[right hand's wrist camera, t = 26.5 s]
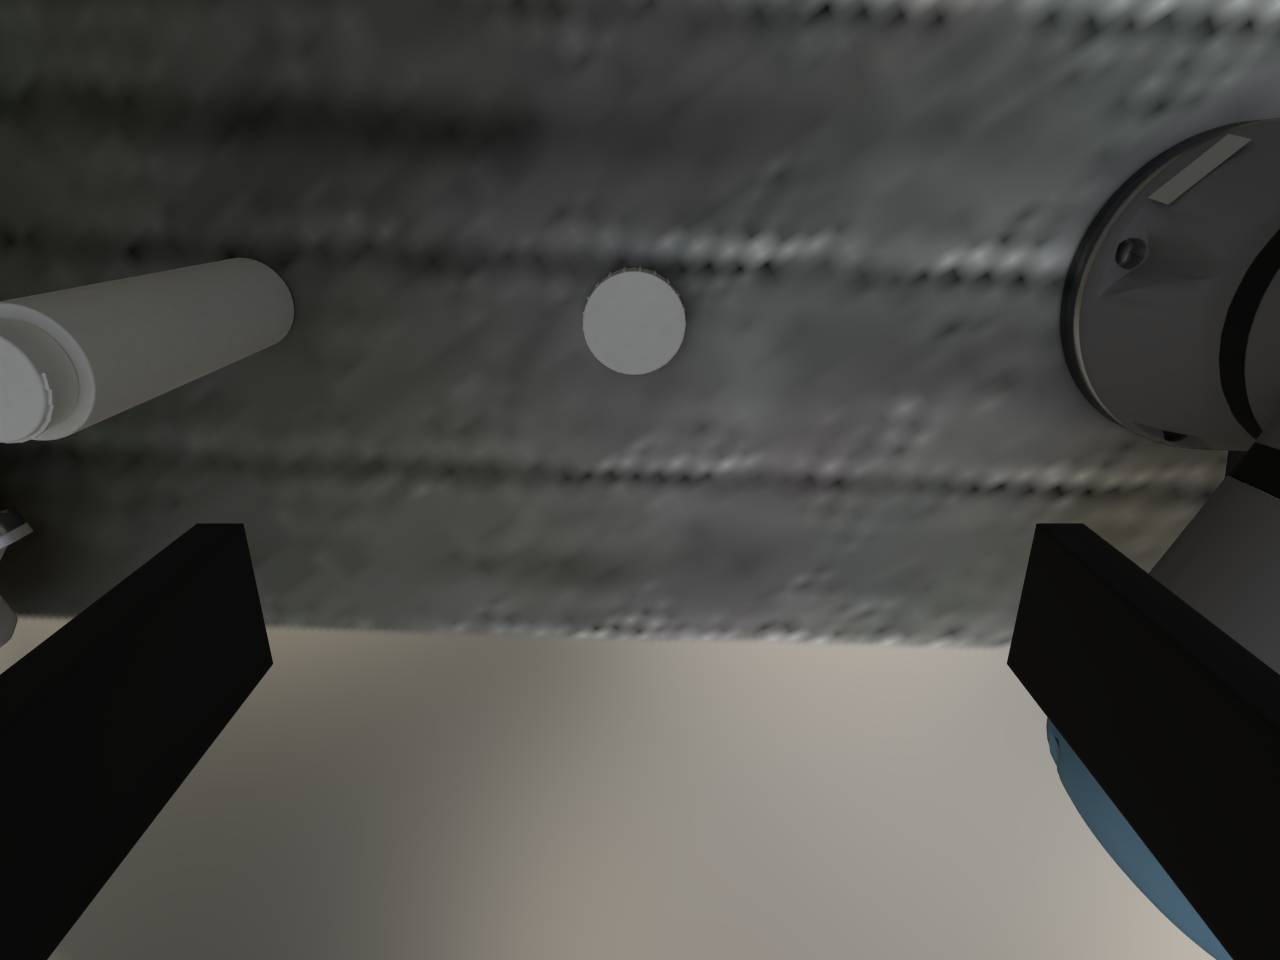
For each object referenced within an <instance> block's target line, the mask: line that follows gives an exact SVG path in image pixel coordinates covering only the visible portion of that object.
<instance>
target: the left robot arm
mask: <svg viewBox="0 0 1280 960" xmlns="http://www.w3.org/2000/svg"><path fill="white" fill-rule="evenodd" d="M31 532H33V530H32V528H31V527H30V526H29V525H28V523H27V522H26V520H25V519H24V518H23V517H22V515H21V514H20V513H19V512H18V510H17V509H16V508H15V507H14V505H12V506H9V507H7V508H4V509H2V510H0V560H1V558H2V556H3V554H4V552H5V550H6V548H7V546H8V545H10V544H12V543H14V542H16V541H17V540H19V539H21V538H23V537H24V536H26V535H28V534H30V533H31ZM16 624H17V616H16V614H15V612H14V611H13V610H12V608H11V607H10V606H9V605H8V603H7V602H6V601H5V600H4V599H3V597H2V596H1V595H0V647H2V646H3V645H4V644H6V643H7V642H8V641H9V640H10V639H11V637H12V635H13V633H14V630H15V627H16Z"/></svg>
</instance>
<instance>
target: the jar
mask: <svg viewBox="0 0 1280 960" xmlns="http://www.w3.org/2000/svg"><path fill="white" fill-rule="evenodd" d="M293 319H294V304H293V299H292V296H291V293H290V291H289V289H288V287H287V285H286V284H285V282H284V281H283V280H282V278H281V277H280V276H279V275H278V274H277V273H276V272H275V271H274V270H272V269H271V268H269V267H268V266H267V265H265V264H263V263H261V262H258V261H256V260H252V259H248V258H233V259H227V260H222V261H216V262H211V263H205V264H200V265H195V266H189V267H184V268H178V269H173V270H167V271H162V272H157V273H151V274H146V275H140V276H135V277H130V278H124V279H119V280H113V281H108V282H102V283H97V284H92V285H86V286H81V287H75V288H70V289H65V290H59V291H54V292H48V293H43V294H37V295H32V296H27V297H21V298H16V299H10V300H5V301H0V443H19V442H21V443H23V442H25V441H28V440H31V439H32V440H55V439H60V438H64V437H66V436H69V435H71V434H73V433H75V432H78V431H80V430H82V429H84V428H87V427H89V426H91V425H93V424H96V423H98V422H100V421H103V420H105V419H107V418H109V417H112V416H114V415H116V414H118V413H121V412H123V411H125V410H127V409H130V408H132V407H134V406H137V405H139V404H141V403H143V402H146V401H148V400H150V399H152V398H155V397H157V396H159V395H161V394H164V393H166V392H168V391H170V390H173V389H175V388H177V387H180V386H182V385H184V384H186V383H189V382H191V381H193V380H195V379H198V378H200V377H202V376H204V375H207V374H209V373H211V372H214V371H216V370H218V369H220V368H223V367H225V366H227V365H229V364H232V363H234V362H236V361H238V360H241V359H243V358H245V357H248V356H250V355H252V354H254V353H257V352H259V351H261V350H263V349H266V348H268V347H270V346H272V345H275V344H277V343H278V342H280V341H281V340H282V339H283V338H284V337H285V336H286V335H287V334H288V332H289V330H290V328H291V326H292V323H293Z"/></svg>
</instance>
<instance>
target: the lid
mask: <svg viewBox="0 0 1280 960" xmlns="http://www.w3.org/2000/svg"><path fill="white" fill-rule="evenodd" d="M679 295H680V294H679V291H678V290H677V291H676V290H675V288H674V287H673V286H672V285H671V283H670V281H669V279H668V278H667V279H665V278H664V277H663V276H661V275H660V274H658V273H656V270H654V271H651V270H648V269H644V268H641V266H639V268H626V267H623V269H621V270H618V271H615V272H613V273H611V272H609V274H608V276H606V277H605V278H604V279H602V280H601V281H600V282H599V281H598V282H597V284H596V287H595V288H594V290H593V291H592V293H591V294H589V295H588V297H587V299H588V301H587V304H586V307H585V308H584V310H583V313H582V314H584V315H583V327H582V330H583V331H584V336H585V339H586V342H587V345H588V346H589V348H590V350H591V352H592V353H593V354H594V356H595V357H596V358H597V359H598V360H599V361H600V362H601V363H602V364H604V365H605V366H607V367H608V368H610V369H612V370H614V371H616V372H620V373H623V374H629V375H639V374H645V373H649V372H652V371H655V370H657V369H659V368H661V367H662V366H664V365H665V364H666V363H668V362H669V361H670V360H671V359H672V358H673V357H674V355H675V354H676V353H677V351H678V350H679V348H680V346H681V344H682V341H683V340H684V334H685V328H686V326H687V323H686V319H685V312H684V310H686V309H685V306H684V304H682V302H681V299H680V297H679Z"/></svg>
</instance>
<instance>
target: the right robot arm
mask: <svg viewBox="0 0 1280 960" xmlns="http://www.w3.org/2000/svg"><path fill="white" fill-rule="evenodd" d="M1060 324H1061V339H1062V347H1063V351H1064V355H1065V359H1066V363H1067V365H1068V368H1069V371H1070V373H1071V375H1072V377H1073V379H1074V381H1075V383H1076V385H1077V387H1078V388H1079V390H1080V391H1081V393H1082V394H1083V395H1084V397H1085V398H1086V399H1087V400H1088V401H1089V402H1090V404H1091V405H1092V406H1093V407H1094V408H1096V409H1097V410H1098V411H1099V412H1100V413H1101V414H1102V415H1104V416H1105V417H1107V418H1108V419H1110V420H1111V421H1113V422H1114V423H1116V424H1118V425H1120V426H1122V427H1124V428H1126V429H1128V430H1130V431H1132V432H1134V433H1136V434H1138V435H1140V436H1142V437H1144V438H1147V439H1149V440H1152V441H1154V442H1158V443H1162V444H1165V445H1170V446H1176V447H1183V448H1191V449H1213V450H1229V451H1228V458H1227V466H1226V473H1225V479H1224V480H1223V481H1222V483H1221V484H1220V485H1219V487H1218V488H1217V489H1216V491H1215V492H1214V493H1213V494H1212V496H1211V497H1210V498H1209V500H1208V501H1207V502H1206V503H1205V505H1204V506H1203V507H1202V508H1201V509H1200V511H1199V512H1198V513H1197V514H1196V516H1195V517H1194V518H1193V519H1192V521H1191V522H1190V523H1189V524H1188V526H1187V527H1186V528H1185V529H1184V530H1183V532H1182V533H1181V534H1180V535H1179V537H1178V538H1177V539H1176V540H1175V542H1174V543H1173V544H1172V545H1171V546H1170V548H1169V549H1168V550H1167V551H1166V553H1165V554H1164V555H1163V556H1162V558H1161V559H1160V560H1159V561H1158V563H1157V564H1156V565H1155V566H1154V567H1153V569H1152V570H1151V571H1150V572H1149V574H1148V573H1147V572H1145V571H1144V570H1143V569H1141V568H1140V567H1139V566H1137V565H1136V564H1135V563H1134V562H1132V561H1131V560H1130V559H1128V558H1127V557H1126V556H1124V555H1123V554H1122V553H1121V552H1119V551H1118V550H1117V549H1115V548H1114V547H1113V546H1111V545H1110V544H1109V543H1108V542H1106V541H1105V540H1104V539H1102V538H1101V537H1100V536H1098V535H1097V534H1096V533H1095V532H1093V531H1092V530H1091V529H1089V528H1088V527H1087V526H1085V525H1084V524H1036V529H1035V534H1034V538H1033V543H1032V548H1031V552H1030V557H1029V562H1028V567H1027V571H1026V576H1025V581H1024V585H1023V590H1022V595H1021V600H1020V604H1019V609H1018V614H1017V618H1016V623H1015V628H1014V633H1013V637H1012V642H1011V647H1010V651H1009V656H1008V661H1007V665H1008V666H1009V667H1010V668H1011V670H1012V671H1013V672H1014V674H1015V675H1016V676H1017V678H1018V679H1019V680H1020V682H1021V683H1022V684H1023V685H1024V687H1025V688H1026V689H1027V691H1028V692H1029V693H1030V695H1031V696H1032V697H1033V699H1034V700H1035V701H1036V702H1037V704H1038V705H1039V706H1040V708H1041V709H1042V710H1043V712H1044V713H1045V714H1046V716H1047V739H1048V742H1049V746H1050V753H1051V755H1052V757H1053V759H1054V761H1055V763H1056V765H1057V771H1058V774H1059V776H1060V780H1061V782H1062V784H1063V786H1064V787H1065V789H1066V791H1067V793H1068V795H1069V797H1070V798H1071V800H1072V802H1073V804H1074V805H1075V807H1076V809H1077V810H1078V812H1079V813H1080V815H1081V817H1082V818H1083V819H1084V821H1085V823H1086V824H1087V825H1088V827H1089V828H1090V830H1091V831H1092V833H1093V834H1094V835H1095V837H1096V838H1097V839H1098V841H1099V842H1100V843H1101V845H1102V846H1103V847H1104V849H1105V850H1106V851H1107V852H1108V853H1109V855H1110V856H1111V857H1112V858H1113V860H1114V861H1115V862H1116V863H1117V865H1118V866H1119V867H1120V868H1121V869H1122V870H1123V872H1124V873H1125V874H1126V875H1127V876H1128V877H1129V878H1130V879H1131V881H1132V882H1133V883H1134V884H1135V885H1136V886H1137V887H1138V888H1139V890H1140V891H1141V892H1142V893H1143V894H1144V895H1145V896H1146V897H1147V898H1148V899H1149V900H1150V901H1151V902H1152V903H1153V904H1154V905H1155V906H1156V907H1157V908H1158V909H1159V910H1160V911H1161V912H1162V913H1163V914H1164V915H1165V916H1166V917H1167V918H1168V919H1169V920H1170V921H1171V922H1172V923H1173V924H1174V925H1175V926H1176V927H1178V928H1179V929H1180V930H1181V931H1182V932H1183V933H1184V934H1185V935H1187V936H1188V937H1189V938H1190V939H1191V940H1192V941H1194V942H1195V943H1196V944H1197V945H1199V946H1200V947H1201V948H1202V949H1203V950H1205V951H1206V952H1207V953H1209V954H1210V955H1211V956H1212V957H1214V958H1215V959H1216V960H1280V501H1279V500H1277V499H1275V498H1273V497H1271V496H1269V495H1267V494H1270V495H1272V496H1274V497H1276V498H1278V499H1280V118H1275V119H1265V120H1255V121H1247V122H1240V123H1234V124H1230V125H1225V126H1221V127H1217V128H1214V129H1211V130H1209V131H1206V132H1203V133H1200V134H1198V135H1195V136H1193V137H1191V138H1189V139H1186V140H1184V141H1182V142H1180V143H1179V144H1177V145H1175V146H1173V147H1171V148H1170V149H1168V150H1166V151H1165V152H1163V153H1162V154H1160V155H1159V156H1157V157H1156V158H1154V159H1153V160H1151V161H1150V162H1149V163H1147V164H1146V165H1145V166H1144V167H1142V168H1141V169H1140V170H1139V171H1137V172H1136V173H1135V174H1134V175H1133V176H1132V177H1131V178H1130V179H1129V180H1127V181H1126V182H1125V183H1124V184H1123V185H1122V186H1121V187H1120V188H1119V190H1118V191H1117V192H1116V193H1115V194H1114V195H1113V196H1112V197H1111V198H1110V200H1109V201H1108V202H1107V203H1106V205H1105V206H1104V207H1103V208H1102V210H1101V211H1100V212H1099V214H1098V215H1097V217H1096V218H1095V220H1094V221H1093V223H1092V224H1091V226H1090V227H1089V229H1088V231H1087V232H1086V234H1085V236H1084V238H1083V239H1082V241H1081V243H1080V245H1079V248H1078V250H1077V252H1076V254H1075V256H1074V259H1073V261H1072V264H1071V267H1070V270H1069V273H1068V276H1067V280H1066V284H1065V287H1064V292H1063V298H1062V304H1061V318H1060ZM1245 483H1246V484H1245ZM1247 484H1248V485H1247ZM1249 485H1250V486H1249ZM1251 486H1252V487H1251ZM1253 487H1255V488H1257V489H1259V490H1261V491H1263V492H1265V493H1267V494H1265V493H1263V492H1261V491H1259V490H1257V489H1255V488H1253ZM272 665H273V661H272V656H271V652H270V647H269V642H268V637H267V633H266V628H265V623H264V618H263V614H262V609H261V604H260V600H259V595H258V590H257V585H256V581H255V576H254V571H253V567H252V562H251V557H250V552H249V548H248V543H247V538H246V534H245V529H244V524H196V525H195V526H193V527H192V528H191V529H189V530H188V531H187V532H185V533H184V534H183V535H182V536H180V537H179V538H178V539H176V540H175V541H174V542H172V543H171V544H170V545H169V546H167V547H166V548H165V549H163V550H162V551H161V552H159V553H158V554H157V555H156V556H154V557H153V558H152V559H150V560H149V561H148V562H146V563H145V564H144V565H143V566H141V567H140V568H139V569H137V570H136V571H135V572H133V573H132V574H131V575H130V576H128V577H127V578H126V579H124V580H123V581H122V582H120V583H119V584H118V585H116V586H115V587H114V588H113V589H111V590H110V591H109V592H107V593H106V594H105V595H103V596H102V597H101V598H100V599H98V600H97V601H96V602H94V603H93V604H92V605H90V606H89V607H88V608H87V609H85V610H84V611H83V612H81V613H80V614H79V615H77V616H76V617H75V618H74V619H72V620H71V621H70V622H68V623H67V624H66V625H64V626H63V627H62V628H61V629H59V630H58V631H57V632H55V633H54V634H53V635H52V636H50V637H49V638H48V639H46V640H45V641H44V642H42V643H41V644H40V645H38V646H37V647H36V648H35V649H33V650H32V651H31V652H29V653H28V654H27V655H25V656H24V657H23V658H21V659H20V660H19V661H18V662H16V663H15V664H14V665H12V666H11V667H10V668H8V669H7V670H6V671H5V672H3V673H2V674H1V675H0V960H47V959H48V958H49V957H50V955H51V954H52V953H53V951H54V950H55V949H56V947H57V946H58V945H59V943H60V942H61V941H62V940H63V938H64V937H65V936H66V934H67V933H68V932H69V930H70V929H71V928H72V926H73V925H74V924H75V922H76V921H77V920H78V919H79V917H80V916H81V915H82V913H83V912H84V911H85V909H86V908H87V907H88V905H89V904H90V903H91V902H92V900H93V899H94V898H95V896H96V895H97V894H98V892H99V891H100V890H101V888H102V887H103V886H104V884H105V883H106V882H107V881H108V879H109V878H110V877H111V875H112V874H113V873H114V871H115V870H116V869H117V867H118V866H119V865H120V863H121V862H122V861H123V860H124V858H125V857H126V856H127V854H128V853H129V852H130V850H131V849H132V848H133V846H134V845H135V844H136V842H137V841H138V840H139V839H140V837H141V836H142V835H143V833H144V832H145V831H146V830H147V828H148V827H149V826H150V824H151V823H152V822H153V820H154V819H155V818H156V816H157V815H158V814H159V812H160V811H161V810H162V809H163V807H164V806H165V805H166V803H167V802H168V801H169V799H170V798H171V797H172V795H173V794H174V793H175V792H176V790H177V789H178V788H179V786H180V785H181V784H182V782H183V781H184V780H185V778H186V777H187V776H188V775H189V773H190V772H191V771H192V769H193V768H194V767H195V765H196V764H197V763H198V761H199V760H200V759H201V757H202V756H203V755H204V754H205V752H206V751H207V750H208V748H209V747H210V746H211V744H212V743H213V742H214V740H215V739H216V738H217V737H218V735H219V734H220V733H221V731H222V730H223V729H224V727H225V726H226V725H227V723H228V722H229V721H230V719H231V718H232V717H233V716H234V714H235V713H236V712H237V710H238V709H239V708H240V706H241V705H242V704H243V703H244V701H245V700H246V699H247V697H248V696H249V695H250V693H251V692H252V691H253V689H254V688H255V687H256V685H257V684H258V683H259V681H260V680H261V679H262V678H263V676H264V675H265V674H266V672H267V671H268V670H269V668H270V667H271V666H272Z"/></svg>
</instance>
